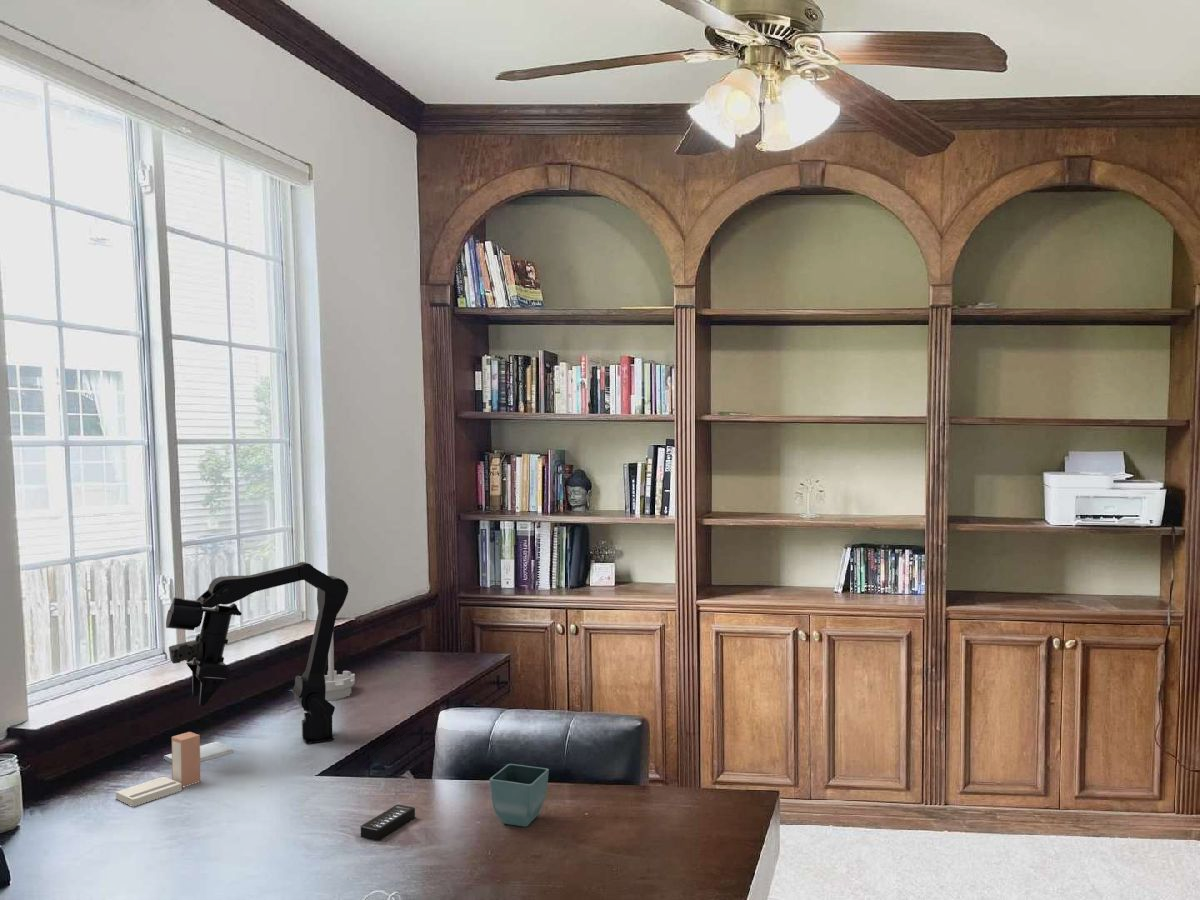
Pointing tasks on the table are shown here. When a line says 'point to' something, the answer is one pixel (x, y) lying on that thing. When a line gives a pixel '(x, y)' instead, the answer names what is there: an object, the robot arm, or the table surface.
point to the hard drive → (208, 751)
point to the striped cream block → (148, 791)
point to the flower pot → (518, 793)
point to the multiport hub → (387, 822)
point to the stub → (186, 758)
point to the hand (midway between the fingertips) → (198, 701)
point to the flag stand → (337, 679)
